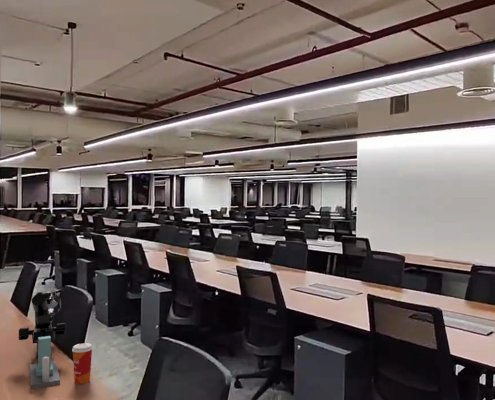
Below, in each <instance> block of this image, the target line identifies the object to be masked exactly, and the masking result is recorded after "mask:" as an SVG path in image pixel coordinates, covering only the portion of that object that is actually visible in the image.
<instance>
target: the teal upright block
mask: <svg viewBox="0 0 495 400" xmlns="http://www.w3.org/2000/svg"><path fill="white" fill-rule="evenodd" d="M51 343H52V342H51V337H50V336H45V337H38V358H37V359H38V360H37V361H38V363H37V364H38V367H36V376H37V377H38V376H42V358H43V357H44V356H47V357H49V375H51V374H53V366H52V365H51V362H52V357H51V356H52V355H51V354H52V344H51Z"/></svg>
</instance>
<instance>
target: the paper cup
mask: <svg viewBox="0 0 495 400" xmlns="http://www.w3.org/2000/svg"><path fill="white" fill-rule="evenodd" d="M71 351H72V360H73V377H74V384H76V385H84V384H85V385H86V384H88V383H89V382H90V381H91V372H92V369H91V368H92V357H93V355H92V354H93V345H92V344H91V343H89V342H88V343H87V342H86V343H84V342H83V343H77V344H75V345H73V346H72V350H71Z"/></svg>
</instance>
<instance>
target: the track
mask: <svg viewBox="0 0 495 400" xmlns="http://www.w3.org/2000/svg"><path fill="white" fill-rule="evenodd" d="M51 365H52V366H53V374H51V375H49V357H47V356H44V357H43V358H42V376H38V377H37V376H36V367H38V363H33V364H29V373H30V374H29V376H30V388H31V389H39V388H44V387H50V386H56V385H60V384H61V379H60V375H59V369H58V365H57V362H56V360H53V361H52V360H51Z"/></svg>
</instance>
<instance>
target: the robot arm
mask: <svg viewBox="0 0 495 400" xmlns="http://www.w3.org/2000/svg"><path fill="white" fill-rule="evenodd" d="M61 300H62V299H61V297H60V296H59V295H58V294H57V291H55V290H47V291H46V290H45V291H39V292H36V293H35V294H34V296H32V298H31V304H32V307H33V311H34V321H35V322H34V329H31V330H30V327H19V329H18V340H19V341H24V340H28V339H29V337H30V336H31V339H32V340H31V341H32V344H36V352H35V358H37V359H38V337H45V336H50V337H51V343H53V342H55V341H56V335H57V336H62V335H66V333H67V323H65V322H61V323H56V324H55V326H54V327H53V326H52V323H53V321H55V315H56V314H59V312H60V310H61V308H62V301H61ZM51 356H52V353H51Z"/></svg>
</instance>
